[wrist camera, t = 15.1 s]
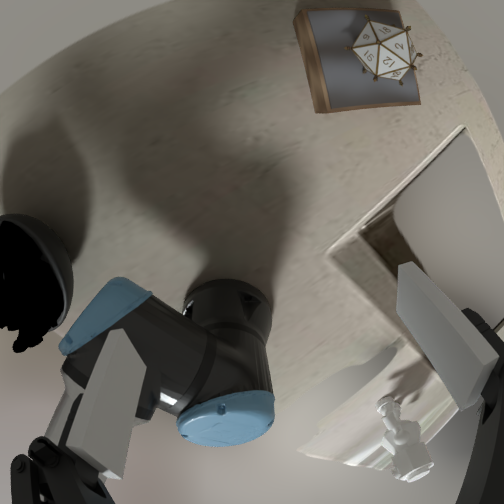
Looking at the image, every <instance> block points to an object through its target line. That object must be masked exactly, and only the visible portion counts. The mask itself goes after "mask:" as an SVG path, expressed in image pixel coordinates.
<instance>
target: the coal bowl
mask: <svg viewBox="0 0 504 504" xmlns="http://www.w3.org/2000/svg"><path fill="white" fill-rule="evenodd" d="M72 296H73V271H72V265H71V262H70V259H69V256H68V253H67V251H66V249H65V247H64V245H63V243H62V242H61V240H60V239H59V237H58V236H57V235H56V234H55V232H54V231H53V230H52V229H51V228H49V227H48V226H47V225H46V224H44V223H43V222H41V221H40V220H38V219H35V218H33V217H31V216H27V215H22V214H7V215H2V216H0V328H1V329H3V328H4V327H5V326H7V328H8V331H15V330H19V334H18V337H17V340H15V341H14V344H13V350H14V352H15V353H21V352H24V351H25V350H26V349H27V348H28V347H34V346H36V345H38V344H39V343H41V342H42V341H43V338H42V336H44V335H45V334H46V333H47V332H50V331H53V330H55V329H56V328H58V327H59V326H60V325H61V324H62V323H63V321H64V320H65V318H66V316H67V314H68V311H69V309H70V305H71V301H72Z"/></svg>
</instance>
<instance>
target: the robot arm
mask: <svg viewBox="0 0 504 504" xmlns="http://www.w3.org/2000/svg"><path fill="white" fill-rule="evenodd" d="M152 294H153V293H152V292H151V291H147V290H145V289H143V288H142V287H140V286H138V285H137V284H135V283H134V282H132V281H131V280H129V279H127V278H125V277H115V278H113V279H111V280H110V281H109V282H108V283H107V284H106V285H105V286H104V287H103V288H102V289H101V290H100V292H99V293H98V294H97V295H96V296H95V297H94V299H93V300H92V301H91V302H90V304H89V305H88V306H87V307H86V309H85V310H84V311H83V312H82V314H81V315H80V316H79V318H78V319H77V320H76V321H75V323H74V324H73V325H72V327H71V328H70V330H69V331H68V332H67V334H66V335H65V337H64V338H63V339H62V341H61V342H60V344H59V350H60V351H61V353H62V355H64V356H65V355H66V356H67V357H66V360H65V361H64V363H63V365H62V368H61V369H60V370H61V374H62V377H63V380H64V383H65V391H64V393H63V395H62V397H61V399H60V402H59V404H58V406H57V408H56V410H55V412H54V415H53V417H52V419H51V421H50V423H49V426H48V428H47V430H46V433H45V435H44V437H43V436H40V437H38V438H36V439H35V440H33V441H32V443H31V445H30V446H29V450H28V456H29V457H30V458H31V459H33V460H31V459H30V458H29V457H27V456H26V455H24V454H20V455H18V456H16V457H15V458H14V459H13V461H12V463H11V495H12V504H115V502H114V501H113V499H112V497H111V496H110V494H109V492H108V491H107V489H106V487H105V485H104V483H105V481H106V479H107V478H114V479H123V474H124V468H125V463H126V457H127V452H128V447H129V442H130V437H131V432H132V428H133V427H134V426H137V425H141V424H145V423H148V422H149V421H150V420H151V418H152V416H153V414H154V412H155V410H156V408H159V409H162V410H164V411H166V412H168V413H170V414H172V415H174V416H176V417H177V421H176V425H177V427H178V431H179V433H180V434H181V435H182V437H183V438H185V439H186V440H188V441H190V442H192V443H196V444H199V445H204V446H215V447H216V446H217V447H221V446H222V447H223V446H232V445H238V444H243V443H246V442H249V441H251V440H254V439H256V438H258V437H260V436H261V435H263V434H264V433H265V432H267V431H268V430H269V429H270V427H271V426H272V424H273V422H274V417H275V413H274V401H275V397H274V394H273V389H272V383H271V377H270V371H269V365H268V360H267V354H266V348H265V347H266V343H267V340H268V337H269V334H270V331H271V327H272V316H271V310H270V306H269V303H268V301H267V299H266V298H265V296H264V295H263V294H262V293H261V292H260V291H259V290H258V289H256V288H255V287H253V286H251V285H249V284H247V283H245V282H242V281H238V280H231V279H221V280H214V281H210V282H207V283H205V284H203V285H201V286H199V287H198V288H196V289H195V290H194V291H193V292H192V293H191V294H190V295H189V296H188V297H187V299H186V301H185V303H184V306H183V311H182V314H181V313H179V312H178V311H176V310H175V309H173V308H172V307H170V306H169V305H167V304H166V303H164V302H163V301H161V300H160V299H158V298H157V297H155V296H154V295H152ZM396 312H397V314H398V315H399V316H400V318H401V319H402V321H403V322H404V324H405V325H406V326H407V328H408V329H409V331H410V332H411V334H412V335H413V337H414V338H415V339H416V341H417V342H418V344H419V345H420V347H421V348H422V350H423V351H424V353H425V354H426V356H427V357H428V359H429V360H430V362H431V364H432V365H433V367H434V368H435V370H436V371H437V373H438V374H439V376H440V378H441V379H442V381H443V382H444V384H445V386H446V387H447V389H448V391H449V392H450V394H451V395H452V397H453V399H454V400H455V402H456V404H457V406H458V407H459V409H460V411H463V410H465V409H466V408H468V407H470V406H472V405H473V404H475V403H476V402H477V400H478V398H479V396H480V395H482V397H483V398H484V401H483V403H482V404H481V406H480V408H479V409H478V411H477V414H476V415H479V414H480V412H481V415H480V420H479V425H478V430H477V435H476V439H475V444H474V447H473V451H472V455H471V459H470V462H469V466H468V469H467V472H466V476H465V479H464V482H463V485H462V488H461V491H460V493H459V496H458V499H457V501H456V504H504V342H503V341H502V340H501V339H500V337H499V336H498V335H497V334H496V333H495V332H494V331H493V329H491V328H490V326H489V325H488V324H487V323H485V321H484V320H483V318H482V317H481V316H480V315H479V314H478V313H476V312H474V311H472V310H471V309H469V308H466V309H464V310H461V311H460V310H459V309H458V308H457V306H456V305H455V304H454V303H453V302H452V301H451V300H450V299H449V298H448V297H447V296H446V295H445V294H444V293H443V292H442V291H441V290H440V289H439V288H438V286H437V285H436V284H435V283H434V282H433V281H432V280H431V279H430V278H429V277H428V276H427V275H426V274H425V273H424V272H423V271H422V270H421V269H420V268H418V267H417V266H416V265H415V264H414V263H413V262H412V261H411V262H408V263H405V264H401V265H398V291H397V307H396Z"/></svg>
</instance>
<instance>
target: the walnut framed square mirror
mask: <svg viewBox="0 0 504 504" xmlns="http://www.w3.org/2000/svg"><path fill="white" fill-rule="evenodd" d="M365 14H366V15H367V16H369V18H370V20H372V21H376V22H380V23H384V24H387V25H391V26H392V24H395V26H396V27H398V28H402V29H405V28H404V25H403V21H402V18H401V15H400V12H399V11H396V10H385V9H369V8H316V9H302V10H301V11H300V12H299V14H298V15H297V16H296V18H295V19H294V21H293V25H294V28H295V32H296V35H297V39H298V43H299V46H300V50H301V54H302V58H303V62H304V66H305V70H306V74H307V78H308V82H309V87H310V91H311V96H312V100H313V105H314V109H315V113H334V112H341V111H349V110H358V109H367V108H378V107H390V106H406V105H421V101H420V95H419V89H418V84H417V79H416V74H415V70H413V69H412V68H410V69H409V71H408V72H407V73H406V74H405V76H404V77H403V78H402V79H401V81H402V82H403V87H402V86H401V85H399V81H398V80H392V79H386V78H380V77H378V81H376V82H374V80H373V78H374V75H373V74H372V73H370V72H369V71H367V72H366V73H363V71H362V70H363V69H365V68H364V66H363V65H362V63H361V62H360V61H359V59H358V58H357V56H356V55H355V54H354V52H353V51H352V50H350V51H349V50H346V49H344V48H345V47H346V46H349V47H352V45H353V44H354V42H355V40H356V39H357V37H358V36H359V34H360V32H361V31H362V29H363V28H364V26H365V24H366V23H367V20H366V18H364V17H365ZM413 65H414V64H413ZM362 73H363V74H362Z"/></svg>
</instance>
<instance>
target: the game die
mask: <svg viewBox="0 0 504 504" xmlns="http://www.w3.org/2000/svg"><path fill="white" fill-rule="evenodd" d="M364 18H366V20H367V23H366V24H365V26H364V28H363V29H362V31H361V32H360V34H359V36H358V37H357V39H356V40H355V42H354V44H353V45H352V47H349V46H346V47H345V48H344V49H346V50H349V51H350V50H352V51H353V52H354V54H355V55H356V56H357V58H358V59H359V61H360V62H361V63H362V65H363V66H364V68H365V69H363V70H362V71H363V73H366V72H367V71H369V72H370V73H372V74H373V75H374V78H373V80H374V82H376V81H378V77H380V78H386V79H392V80H398V81H399V85H401V86H402V87H403V82H402V81H401V79H402V78H403V77H404V76H405V74H406V73H407V72H408V71H409V69H410V68H412V69H413V70H417V68H416V66H414V65H413V63H414V61H415V59H416V57H417V56H419V57H422V56H423V55H422V54H421V53H416V50H415V48H414V46H413V43H412V41H411V39H410V37H409V34H408V31H409V30H411V26H407V28H406V29H402V28H398V27H396V26H395V24H392V26H391V25H387V24H384V23H380V22H376V21H372V20H370V18H369V16H367V15H366V14H365V17H364ZM363 73H362V74H363Z"/></svg>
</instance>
